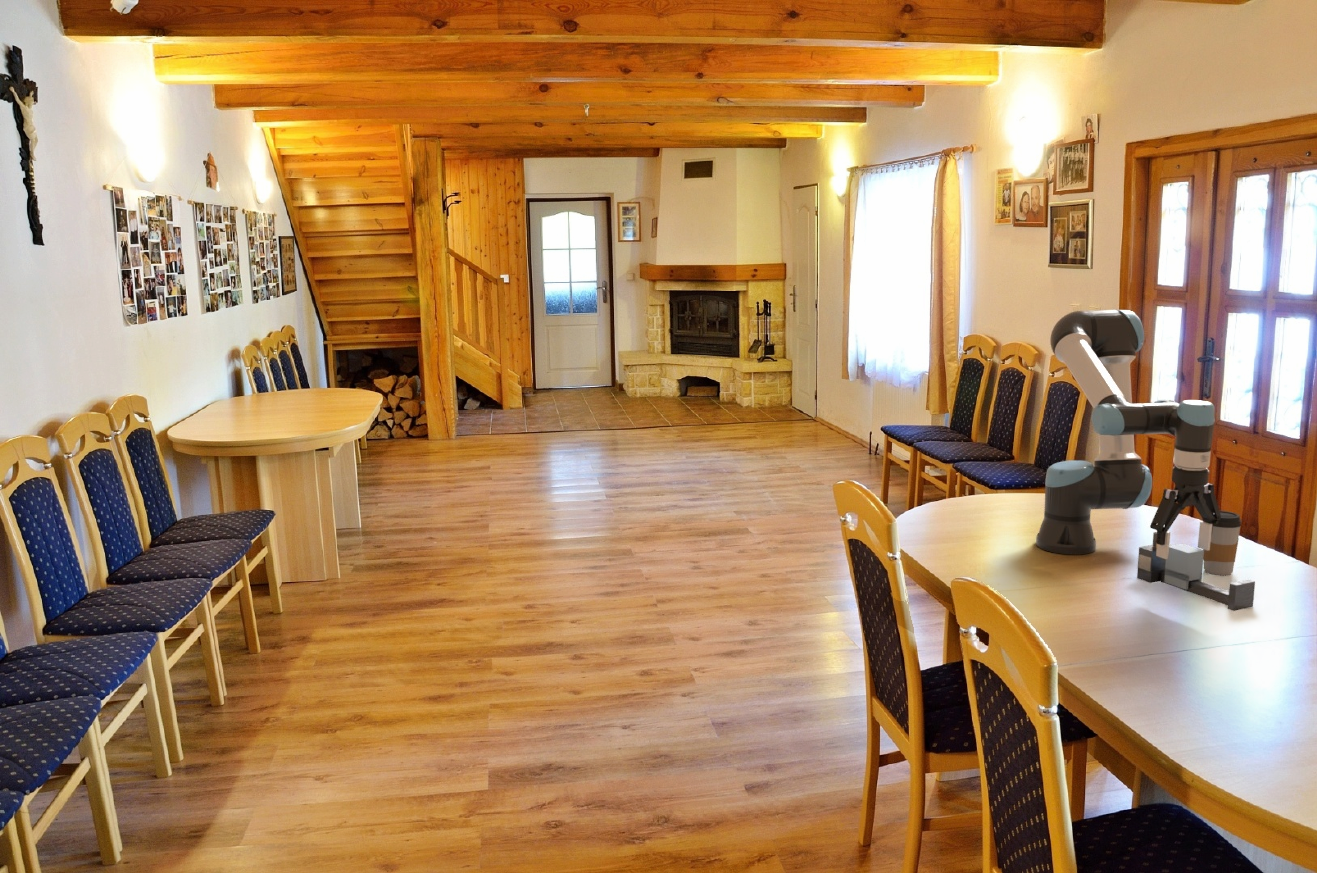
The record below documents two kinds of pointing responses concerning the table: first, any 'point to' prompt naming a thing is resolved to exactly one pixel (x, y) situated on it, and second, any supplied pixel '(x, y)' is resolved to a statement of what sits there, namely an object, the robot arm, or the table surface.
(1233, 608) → the square post base
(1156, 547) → the lever
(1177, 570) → the block
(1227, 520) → the coffee cup
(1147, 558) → the end cabinet
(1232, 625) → the table surface
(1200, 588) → the rail
